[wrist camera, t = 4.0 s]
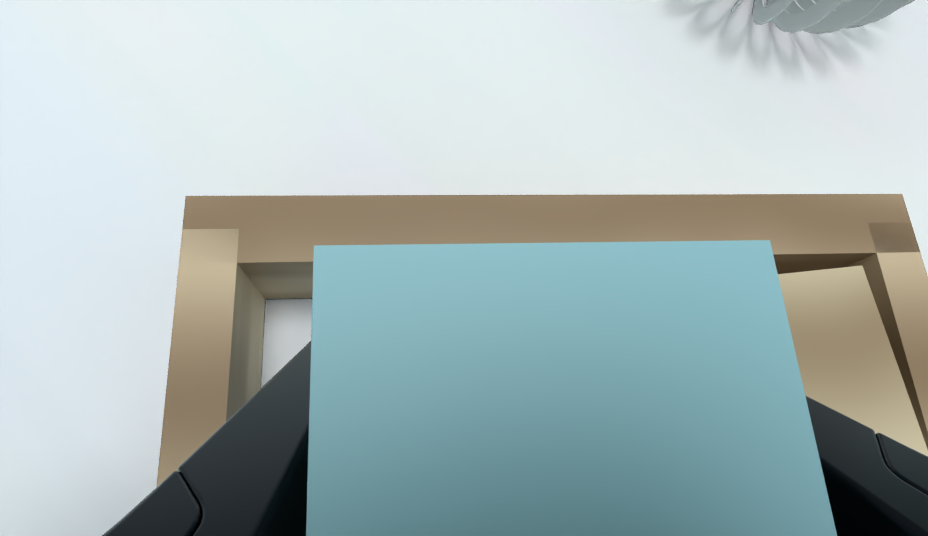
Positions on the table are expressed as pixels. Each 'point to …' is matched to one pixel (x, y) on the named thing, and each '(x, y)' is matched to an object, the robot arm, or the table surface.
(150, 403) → the table surface
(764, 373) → the teal block
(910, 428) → the offcut top
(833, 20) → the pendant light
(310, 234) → the frame
